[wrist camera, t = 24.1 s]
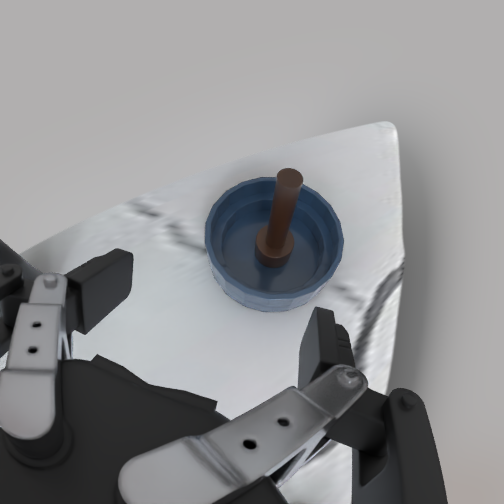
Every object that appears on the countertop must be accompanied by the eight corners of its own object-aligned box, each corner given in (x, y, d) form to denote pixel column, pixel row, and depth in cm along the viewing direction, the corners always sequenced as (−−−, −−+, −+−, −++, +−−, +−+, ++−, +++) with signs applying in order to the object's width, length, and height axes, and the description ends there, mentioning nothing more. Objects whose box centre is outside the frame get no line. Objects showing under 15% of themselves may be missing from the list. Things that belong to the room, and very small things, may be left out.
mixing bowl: (192, 292, 34) (184, 275, 30) (230, 191, 41) (230, 165, 36) (317, 327, 33) (331, 316, 28) (337, 219, 40) (349, 196, 35)
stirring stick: (250, 262, 36) (257, 190, 23) (259, 232, 38) (270, 153, 25) (285, 272, 35) (311, 205, 23) (293, 241, 37) (319, 166, 25)
